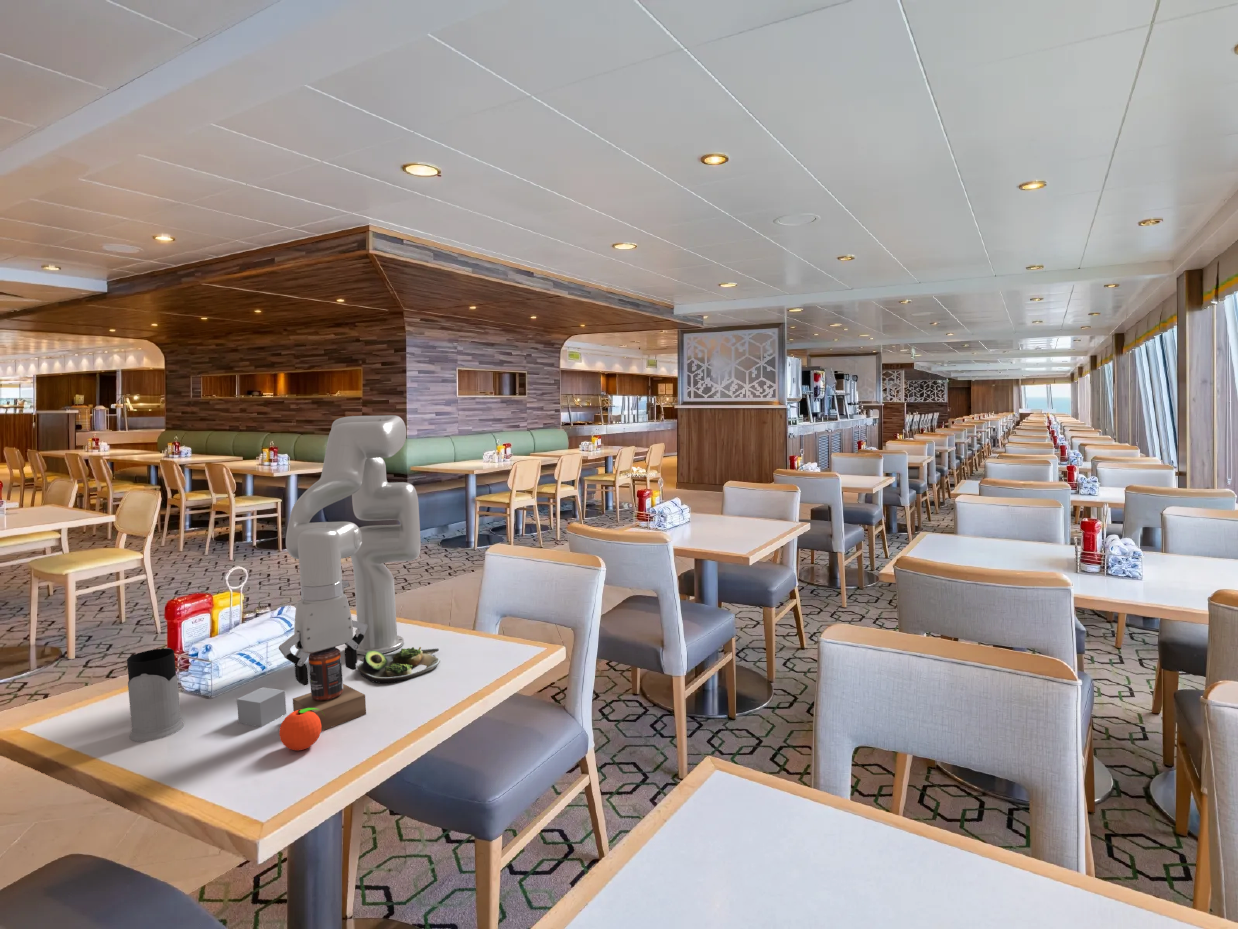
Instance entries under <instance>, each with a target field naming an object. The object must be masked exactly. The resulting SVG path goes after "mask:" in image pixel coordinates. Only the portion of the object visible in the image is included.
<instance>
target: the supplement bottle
mask: <svg viewBox="0 0 1238 929" xmlns="http://www.w3.org/2000/svg"><path fill="white" fill-rule="evenodd" d="M341 655H342V654H341V650H340V649H339V648H338V647H337V646H336V647H333V648H330V649H326V650H322V651H319V652H315V653H310V655H309V656H308V670H309V671H308V673H309V682H310V683H309V684H310V693H311V696H312V698H313V699H314V700H321V701H322V700H330V699H333V698H335V697H338V696H339V695H341V694H342V692H343V684H344V681H343V670H342V669H343V668H342V656H341Z"/></svg>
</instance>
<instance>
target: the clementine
mask: <svg viewBox="0 0 1238 929" xmlns="http://www.w3.org/2000/svg"><path fill="white" fill-rule="evenodd" d="M314 709H316V708H305V709H300V710H296V711H292V712H290V713H289V714H288V715H287V716H285V718H284V719H283V720H282V722H281V724H280V727H279V731H278V733H279V734H278V735H279V740H280V742H281V743H282V744H283V746H284V747H286V748H287V749H289V750H292V751H303V750H306V749H309V748H310V747H311V746H313V745H314V744H315V743H316V742H317V741H318V739H319V738H320V735H321V733H322V731H321V727H322V726H321V721H320V719H319V717H318V715H316V714H315V713H314V712H313V711H310V710H314ZM316 710H319V709H316ZM320 711H321V710H320ZM321 712H322V711H321ZM322 713H323V712H322ZM324 716H325V715H324Z"/></svg>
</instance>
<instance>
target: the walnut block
mask: <svg viewBox="0 0 1238 929" xmlns="http://www.w3.org/2000/svg"><path fill="white" fill-rule="evenodd" d="M366 704H367V703H366V694H364V693H362V692H360V691H359V690H357V689H355V688H353V687H350V686H349V685H346V684H345V683H343V692H342V694H341V695H339V696H338V697H335V698H333V699H330V700H322V701H321V700H314V699H313V698H312V696H311V692H309V693H305V694H302V695H300V696H297V697H294V698H292V709H293V711H292V712H294V711H296V710H300V709H305V708H316V709H319V710H316V709H314V710H310V711H313V712H314V713H315V714H316V715H318V717H319V719H320V721H321V726H322V727H321V732H322V731H325V730H328V729H331V728H333V727H335V726H338V725H341V724H343V723H346V722H350V721H352V720H354V719H356V718H357V719H358V718H361V717H363V716H365V715H367V707H366ZM320 710H321V711H322V712H323V713H322V712H321V711H320ZM324 715H325V716H324Z"/></svg>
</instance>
